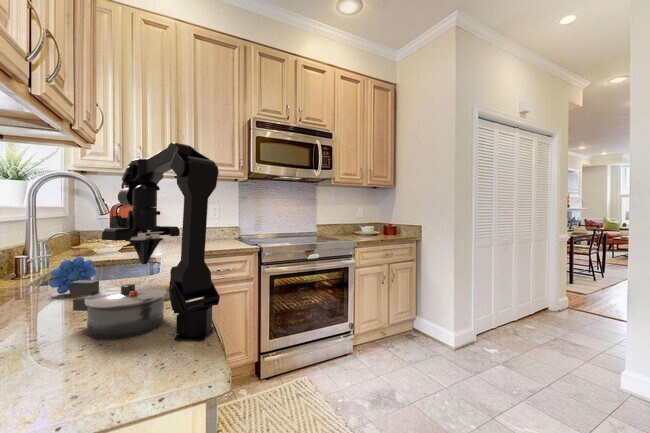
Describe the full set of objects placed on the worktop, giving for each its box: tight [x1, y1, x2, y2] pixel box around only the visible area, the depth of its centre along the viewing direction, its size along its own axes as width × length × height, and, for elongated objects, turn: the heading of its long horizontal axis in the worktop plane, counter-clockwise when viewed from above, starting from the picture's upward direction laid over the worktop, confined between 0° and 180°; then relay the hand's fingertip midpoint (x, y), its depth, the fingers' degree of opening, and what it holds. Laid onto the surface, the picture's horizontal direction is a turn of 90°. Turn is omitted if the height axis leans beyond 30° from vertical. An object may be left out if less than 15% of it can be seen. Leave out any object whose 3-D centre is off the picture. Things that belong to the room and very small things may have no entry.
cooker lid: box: [69, 280, 166, 308], centre depth 70 cm, size 21×16×4 cm
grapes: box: [49, 256, 97, 295], centre depth 97 cm, size 12×7×12 cm, turn 129°
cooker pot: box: [72, 296, 165, 341], centre depth 70 cm, size 20×15×7 cm
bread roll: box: [156, 284, 170, 301], centre depth 94 cm, size 8×9×4 cm
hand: (144, 264), depth 80 cm, fingers closed
